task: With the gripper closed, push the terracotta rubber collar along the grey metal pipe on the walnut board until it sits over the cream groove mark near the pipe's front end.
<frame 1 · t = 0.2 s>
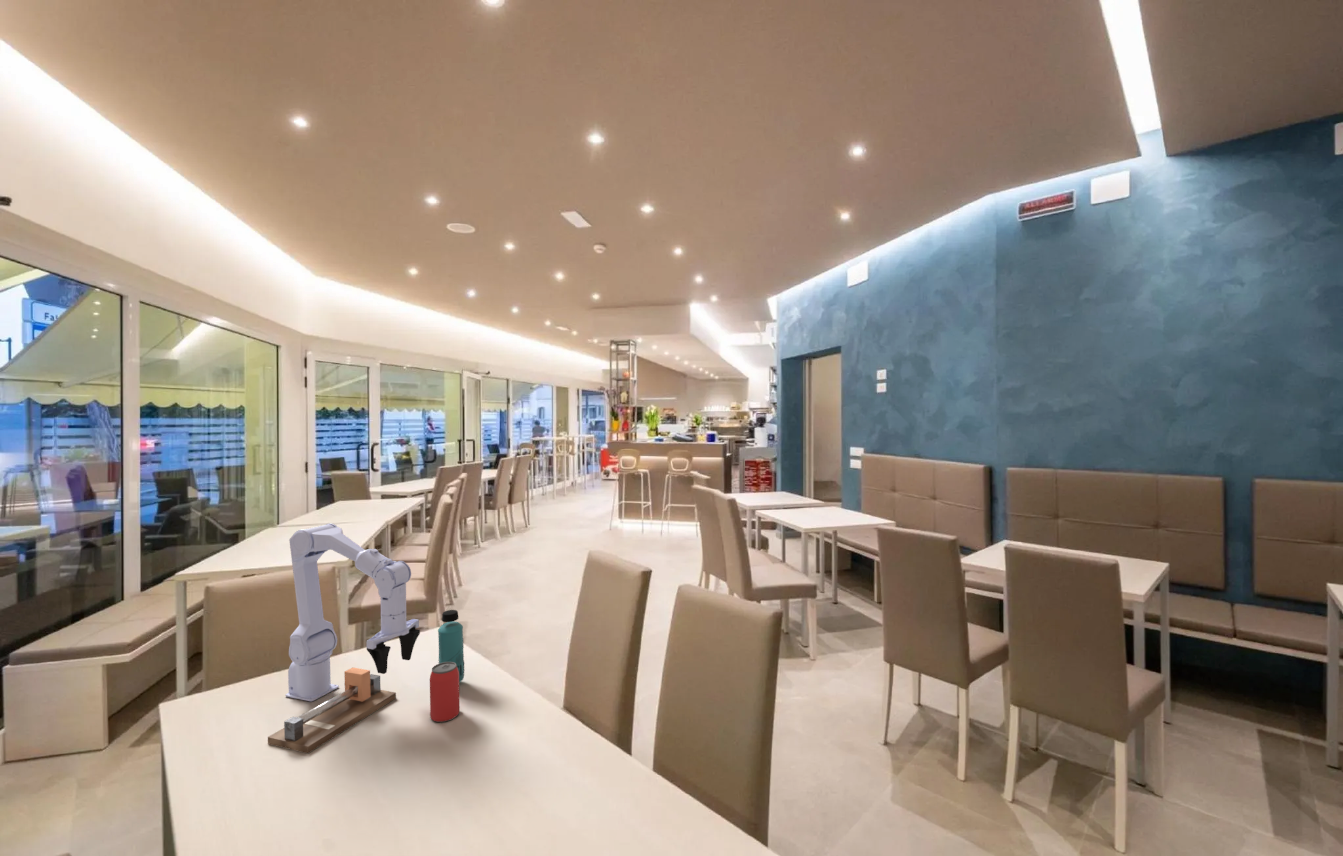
hand: (394, 665, 137), 10 cm above the table, fingers open, 7 cm apart
beer can: (445, 716, 132), on the table
beverage bottle: (451, 685, 147), on the table
collar: (357, 684, 136), point 6 cm above the table, slide at 0.0 cm
pipe stand: (336, 704, 131), on the board, point 4 cm above the table
board: (336, 719, 131), on the table
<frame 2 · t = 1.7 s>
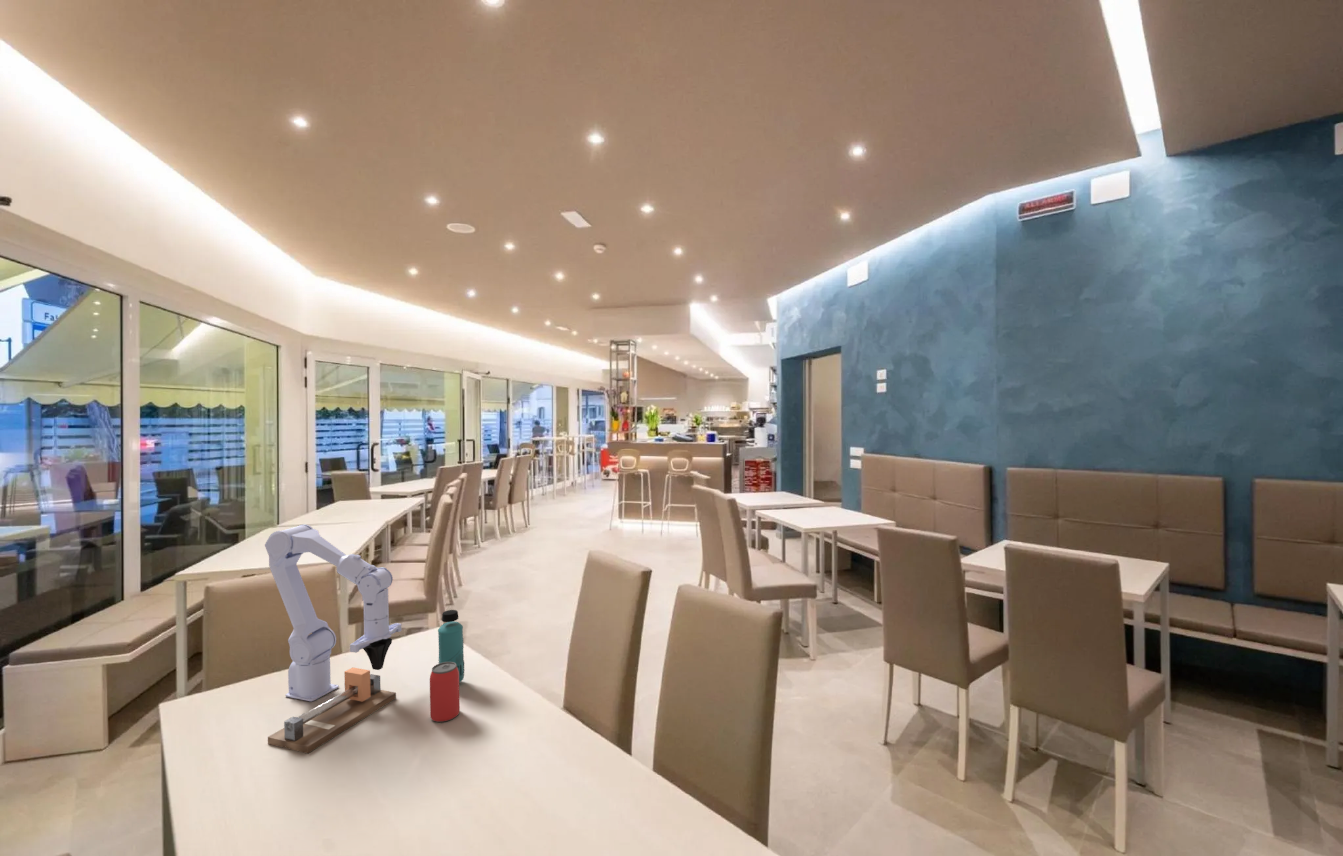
hand: (377, 668, 142), 7 cm above the table, fingers closed
nothing on the table moved.
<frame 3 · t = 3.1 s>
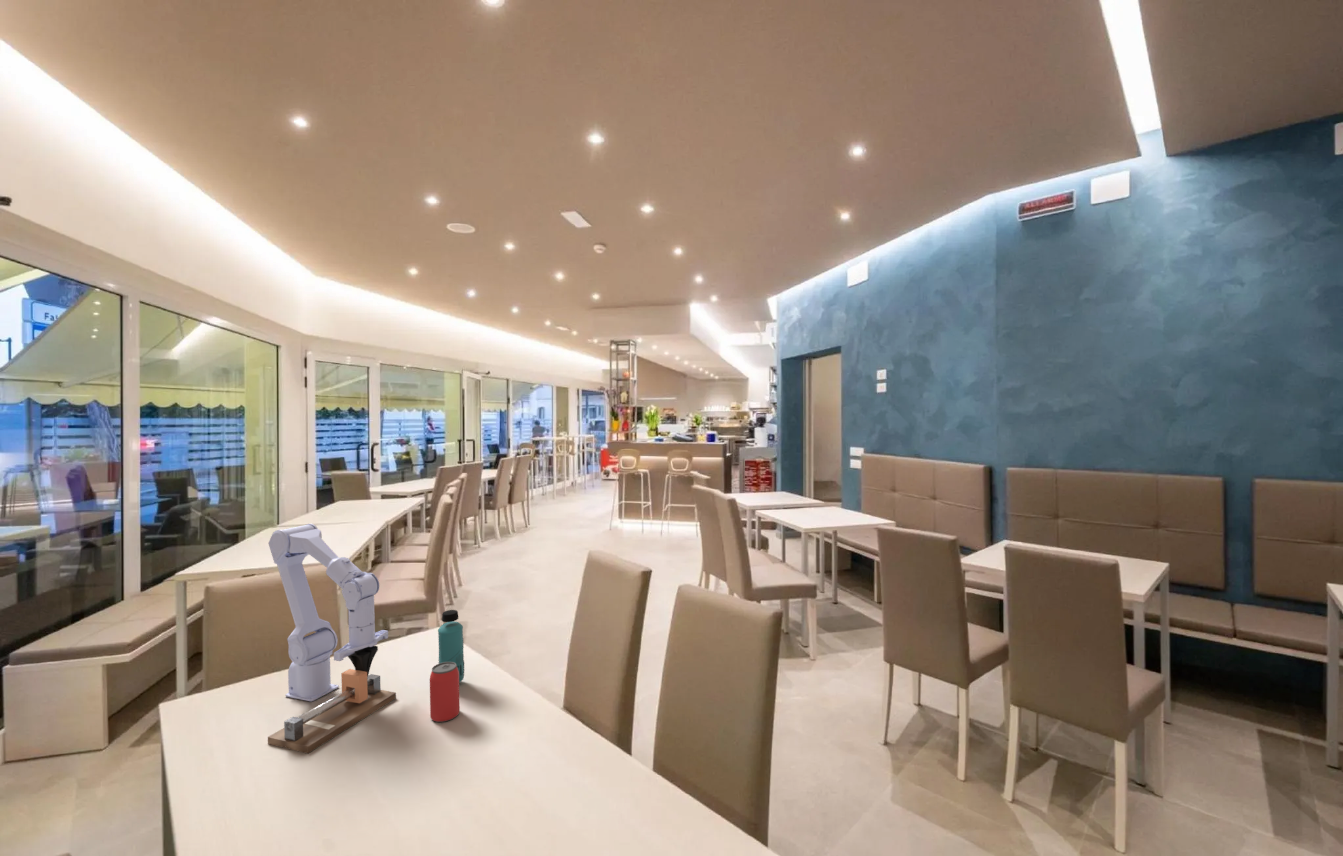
hand: (363, 677, 138), 7 cm above the table, fingers closed
collar: (354, 685, 135), point 6 cm above the table, slide at 0.9 cm, touching gripper
everything else where it was.
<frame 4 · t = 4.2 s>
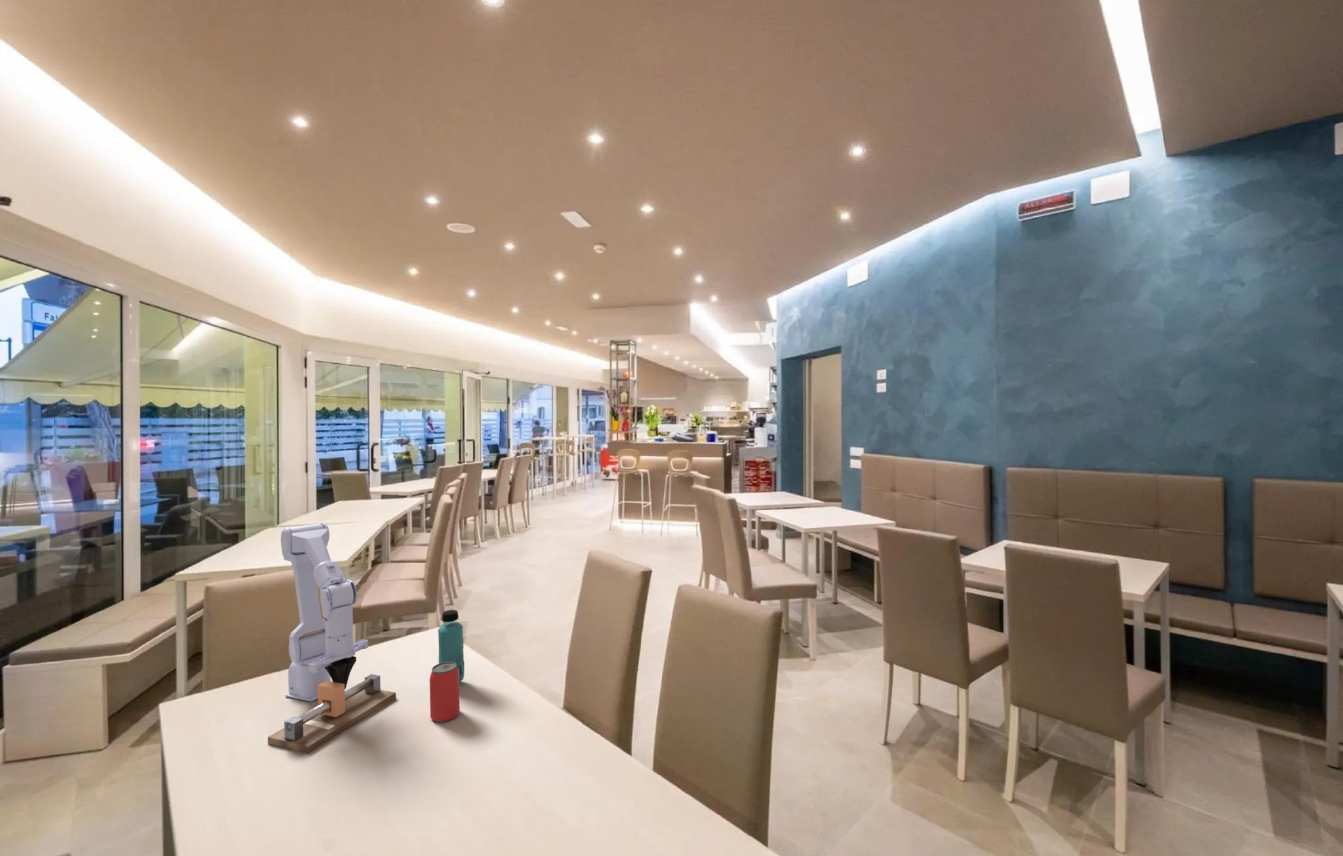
hand: (340, 689, 132), 7 cm above the table, fingers closed
collar: (331, 698, 129), point 6 cm above the table, slide at 7.3 cm, touching gripper
everything else where it was.
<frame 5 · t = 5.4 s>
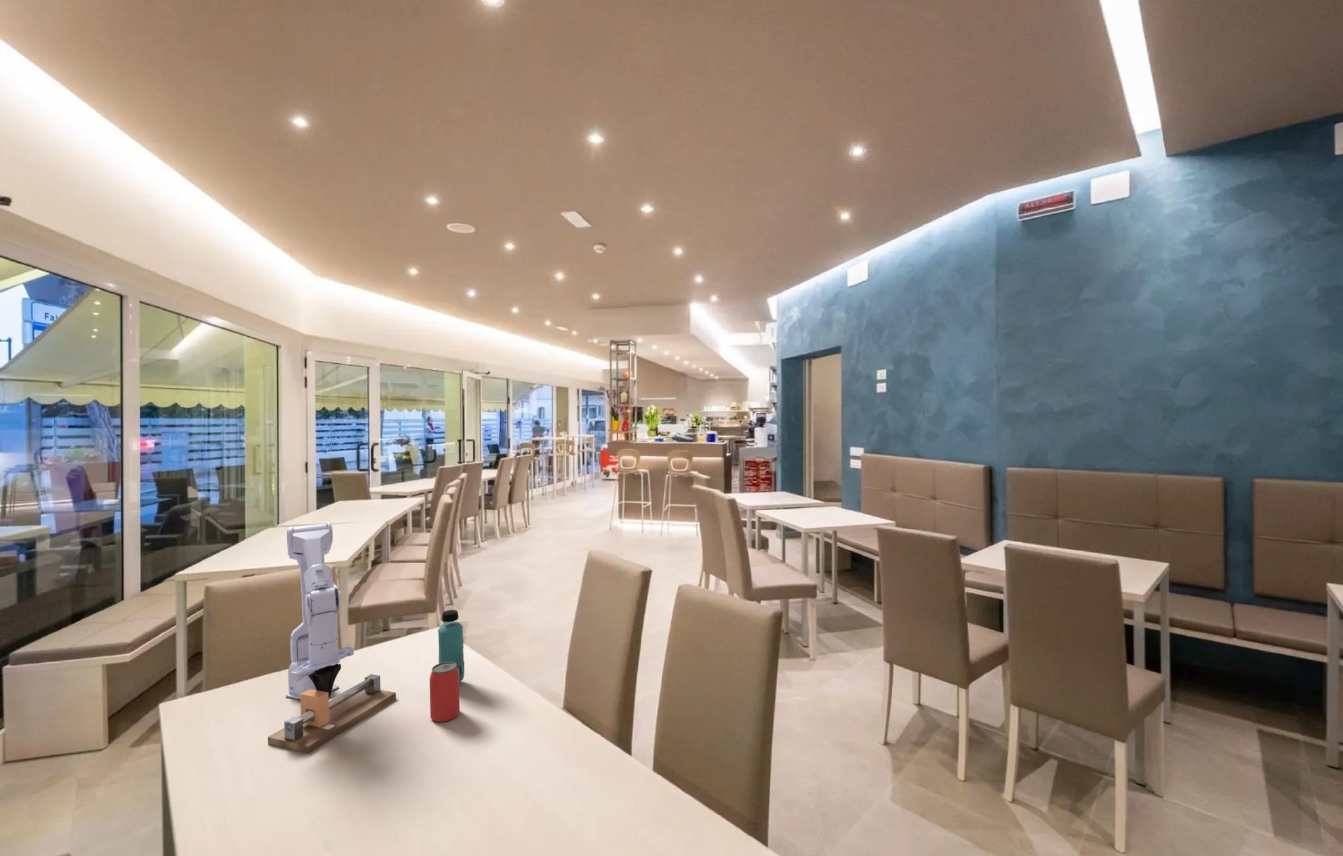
hand: (324, 697, 128), 7 cm above the table, fingers closed
collar: (314, 707, 125), point 6 cm above the table, slide at 11.5 cm, touching gripper
everything else where it was.
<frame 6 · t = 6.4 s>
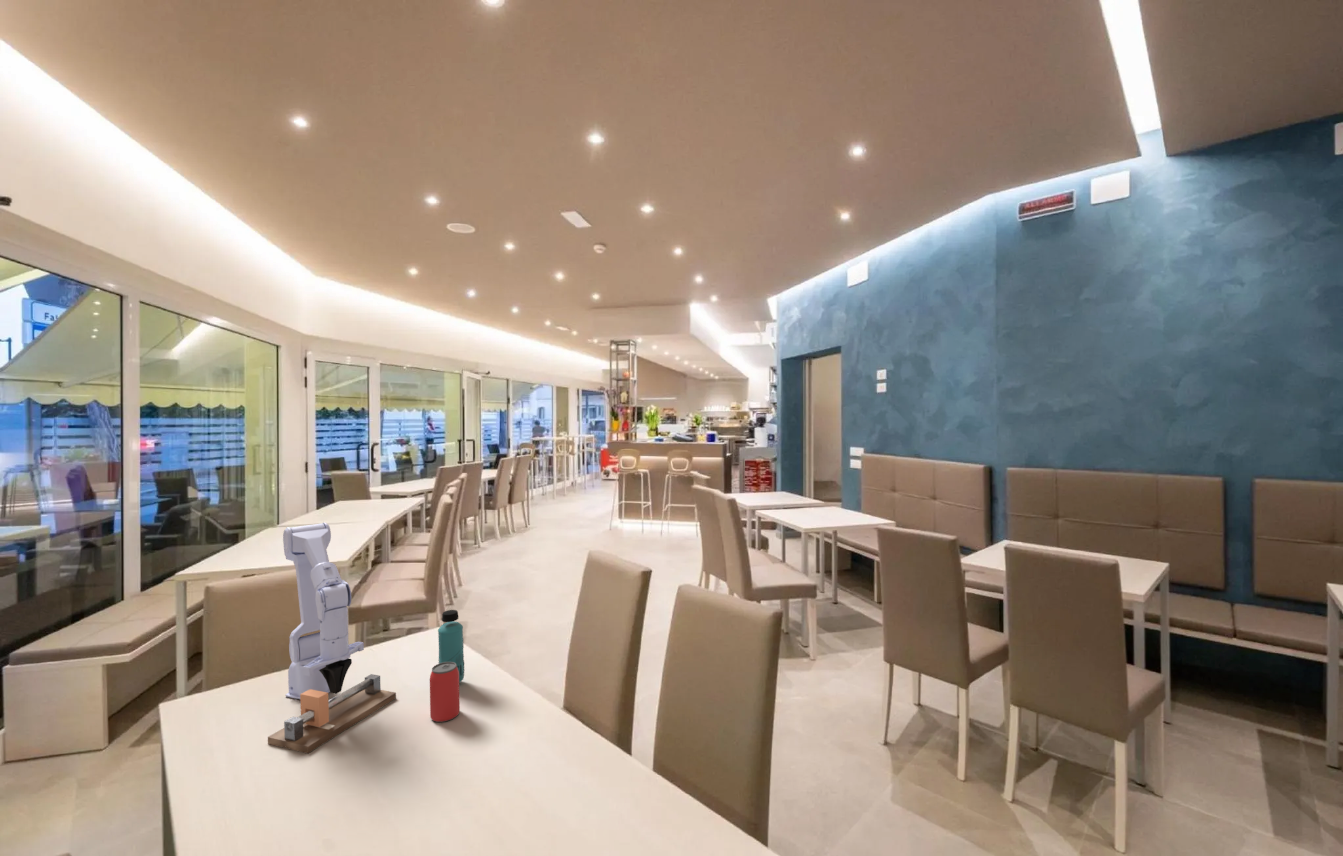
hand: (335, 691, 131), 7 cm above the table, fingers closed
collar: (314, 707, 125), point 6 cm above the table, slide at 11.5 cm
everything else where it was.
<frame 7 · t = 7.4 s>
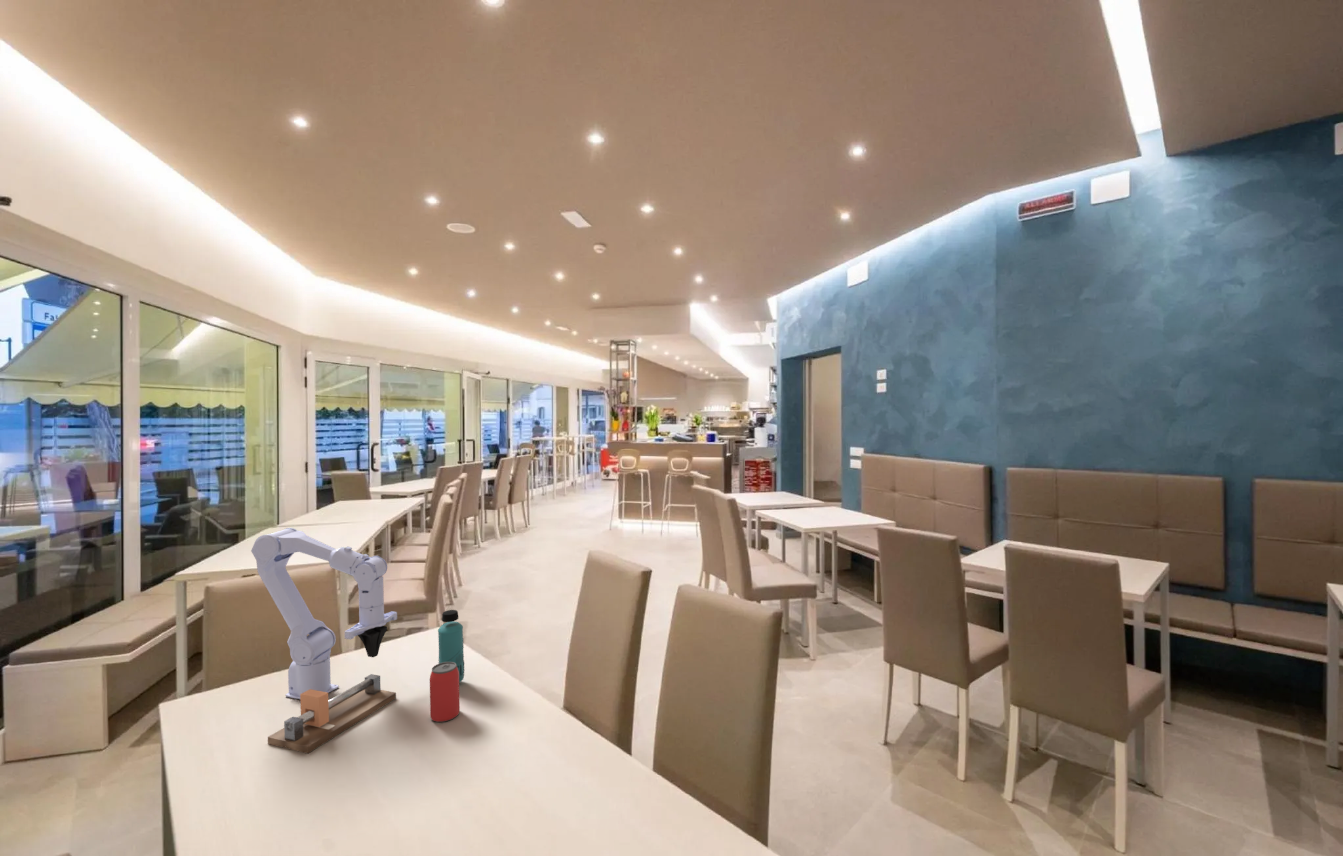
hand: (372, 655, 143), 10 cm above the table, fingers closed
nothing on the table moved.
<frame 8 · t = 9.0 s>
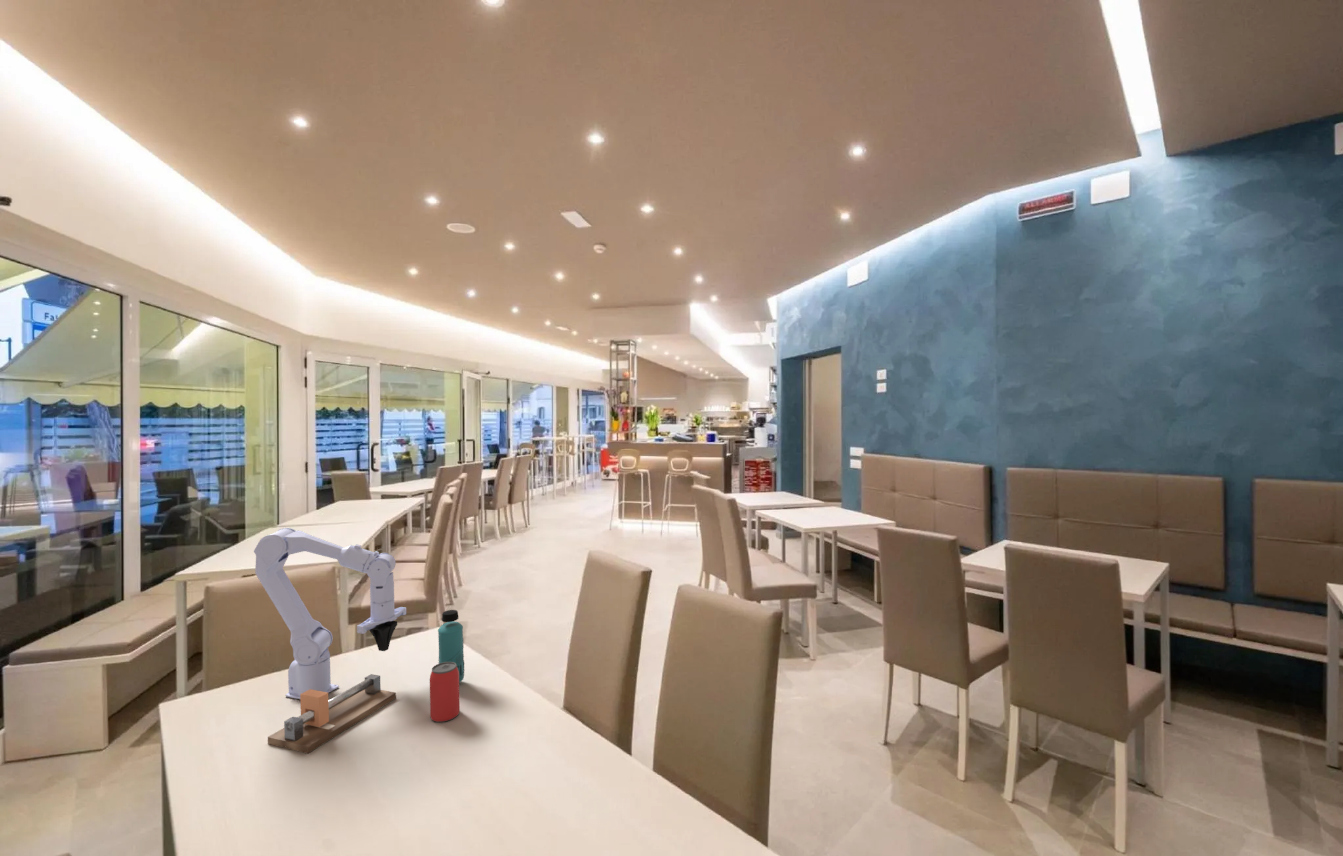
hand: (383, 649, 148), 9 cm above the table, fingers closed
nothing on the table moved.
at the end: collar slide at 11.5 cm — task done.
